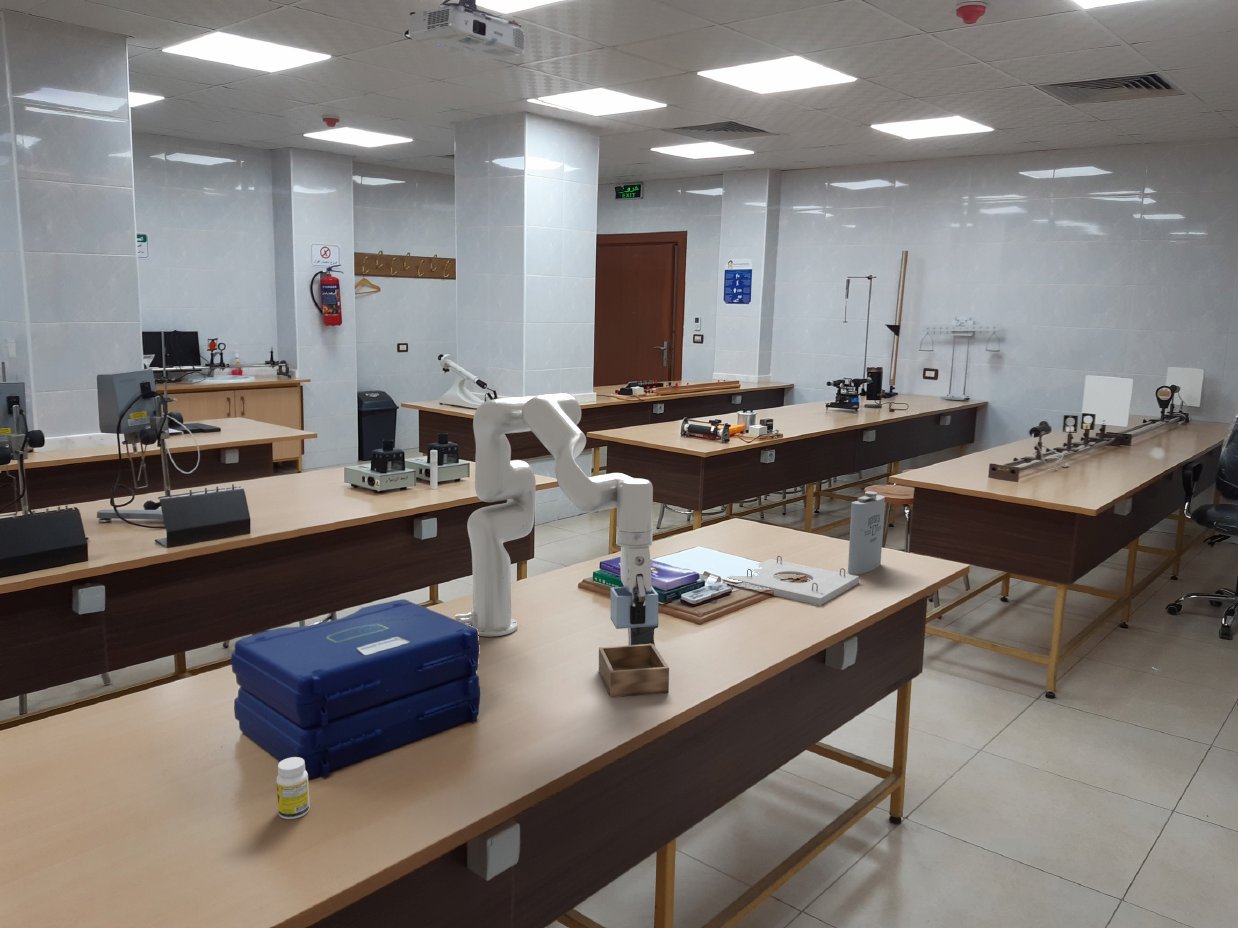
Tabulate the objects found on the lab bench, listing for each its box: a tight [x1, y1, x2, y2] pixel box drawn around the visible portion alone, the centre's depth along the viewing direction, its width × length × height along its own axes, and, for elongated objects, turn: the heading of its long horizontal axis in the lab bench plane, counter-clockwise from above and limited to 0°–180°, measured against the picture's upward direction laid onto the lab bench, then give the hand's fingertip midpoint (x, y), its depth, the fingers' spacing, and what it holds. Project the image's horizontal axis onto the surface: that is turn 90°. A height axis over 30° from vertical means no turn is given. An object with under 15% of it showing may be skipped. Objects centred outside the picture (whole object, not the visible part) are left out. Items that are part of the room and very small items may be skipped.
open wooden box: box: [598, 643, 670, 698], centre depth 188 cm, size 12×14×6 cm
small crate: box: [610, 585, 659, 630], centre depth 185 cm, size 9×6×7 cm
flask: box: [847, 490, 886, 576], centre depth 273 cm, size 17×5×25 cm, turn 138°
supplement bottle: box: [275, 756, 311, 820], centre depth 137 cm, size 5×5×8 cm
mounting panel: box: [726, 555, 860, 607], centre depth 258 cm, size 27×5×30 cm
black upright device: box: [627, 625, 659, 647], centre depth 203 cm, size 7×4×11 cm, turn 128°
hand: (633, 617), depth 185 cm, fingers closed on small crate, 6 cm apart
